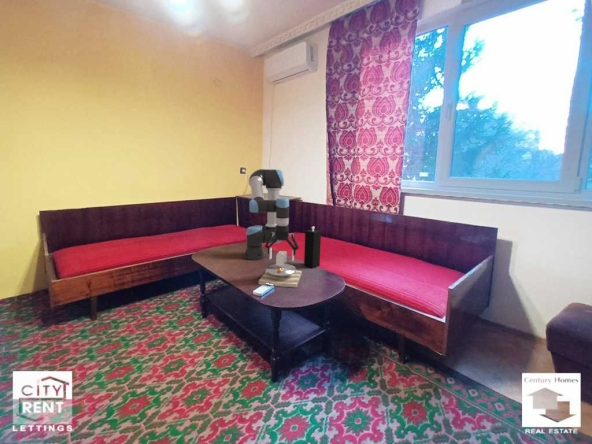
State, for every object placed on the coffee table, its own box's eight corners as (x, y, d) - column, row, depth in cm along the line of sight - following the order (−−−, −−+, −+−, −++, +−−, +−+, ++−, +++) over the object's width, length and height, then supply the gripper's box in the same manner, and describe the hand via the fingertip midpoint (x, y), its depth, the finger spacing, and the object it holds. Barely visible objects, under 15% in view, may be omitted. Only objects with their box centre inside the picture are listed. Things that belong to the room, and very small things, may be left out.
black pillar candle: (303, 265, 202) (305, 226, 197) (311, 263, 208) (312, 224, 202) (312, 268, 197) (314, 227, 191) (319, 265, 202) (321, 226, 197)
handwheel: (270, 264, 186) (270, 248, 184) (298, 266, 184) (298, 250, 182) (262, 274, 169) (263, 256, 167) (293, 277, 166) (294, 259, 164)
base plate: (267, 271, 189) (267, 263, 188) (301, 273, 186) (301, 266, 185) (258, 284, 168) (258, 276, 167) (296, 287, 165) (296, 279, 164)
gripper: (259, 224, 169) (259, 260, 173) (302, 227, 166) (301, 263, 169) (263, 222, 176) (262, 256, 180) (304, 224, 173) (303, 259, 177)
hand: (281, 259), depth 175 cm, fingers open, 13 cm apart
